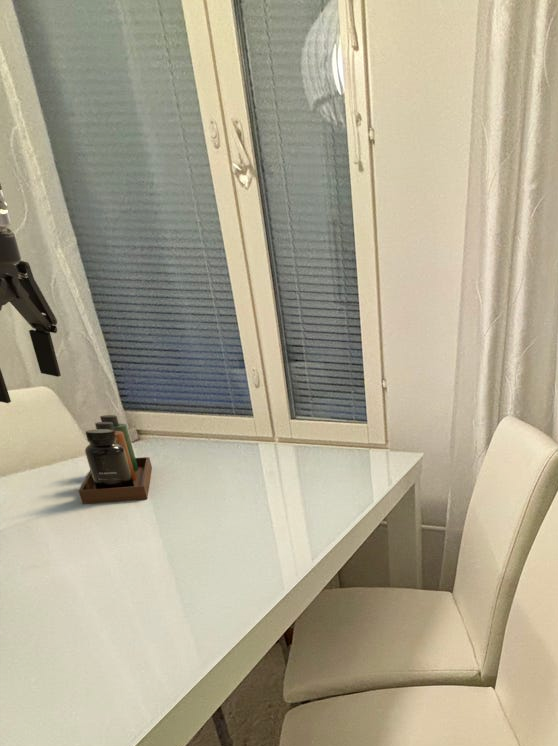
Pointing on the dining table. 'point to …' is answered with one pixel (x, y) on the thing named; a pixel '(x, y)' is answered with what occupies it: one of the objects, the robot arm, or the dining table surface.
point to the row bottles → (120, 439)
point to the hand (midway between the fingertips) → (26, 387)
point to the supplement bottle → (107, 460)
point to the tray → (121, 493)
